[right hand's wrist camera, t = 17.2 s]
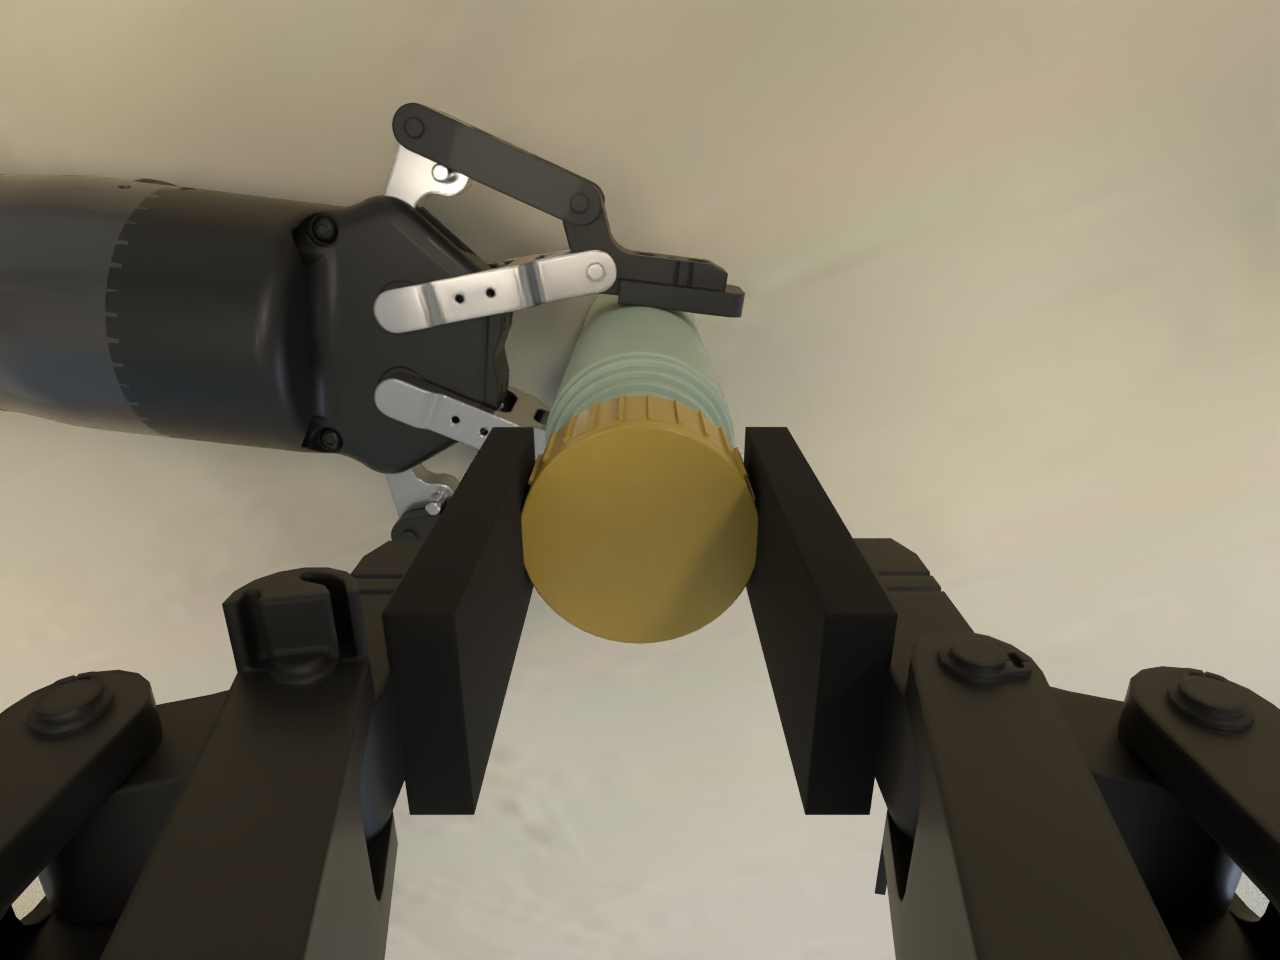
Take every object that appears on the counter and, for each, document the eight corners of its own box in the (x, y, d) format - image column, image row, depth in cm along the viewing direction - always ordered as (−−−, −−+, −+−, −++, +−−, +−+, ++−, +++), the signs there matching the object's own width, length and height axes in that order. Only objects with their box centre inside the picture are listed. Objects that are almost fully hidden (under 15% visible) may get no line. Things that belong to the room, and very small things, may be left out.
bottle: (700, 282, 30) (784, 422, 13) (685, 389, 31) (741, 644, 14) (590, 269, 29) (523, 392, 12) (580, 377, 31) (508, 619, 14)
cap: (585, 621, 15) (578, 677, 14) (493, 441, 14) (472, 478, 12) (778, 550, 15) (796, 599, 13) (702, 356, 13) (711, 382, 12)
